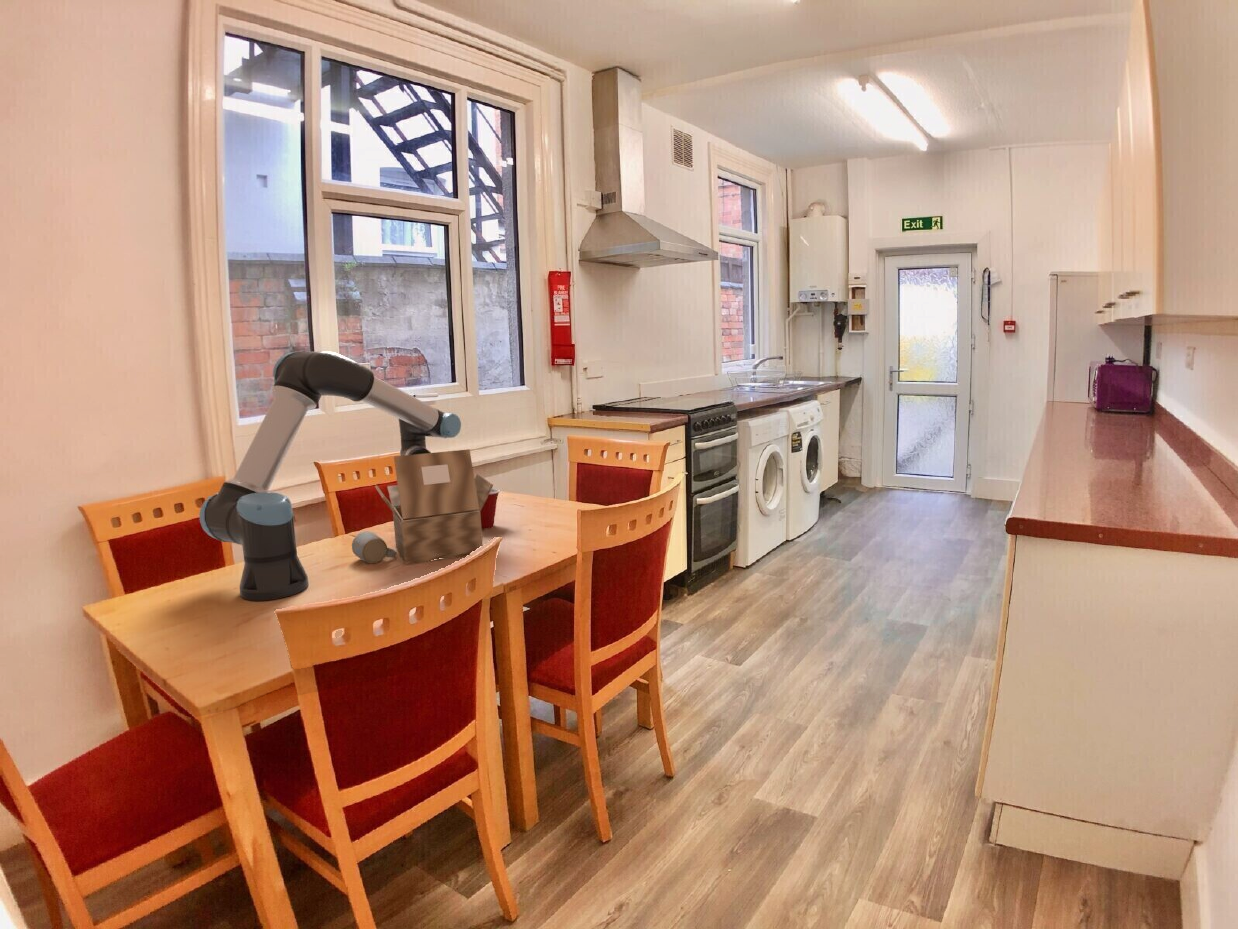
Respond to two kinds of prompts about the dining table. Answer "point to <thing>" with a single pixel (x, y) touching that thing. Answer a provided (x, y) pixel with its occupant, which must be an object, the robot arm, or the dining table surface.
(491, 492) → the plastic cup
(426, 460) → the carton flap
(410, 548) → the shipping carton
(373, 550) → the ceramic mug
